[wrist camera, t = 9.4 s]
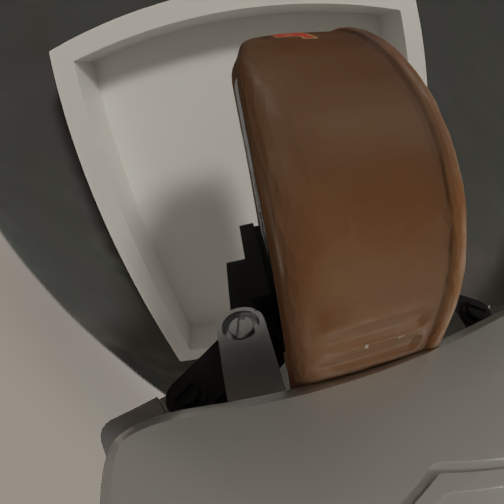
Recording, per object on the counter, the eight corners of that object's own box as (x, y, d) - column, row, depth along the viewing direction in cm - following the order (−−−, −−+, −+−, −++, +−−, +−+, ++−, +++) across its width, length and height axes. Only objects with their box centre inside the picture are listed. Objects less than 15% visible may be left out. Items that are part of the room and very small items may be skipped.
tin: (323, 335, 17) (372, 463, 10) (271, 348, 17) (305, 484, 10) (299, 43, 8) (519, 21, 1) (208, 56, 8) (219, -36, 1)
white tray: (384, 1, 11) (414, -6, 8) (387, 284, 23) (404, 309, 21) (76, 52, 11) (49, 51, 8) (182, 330, 24) (180, 361, 21)
